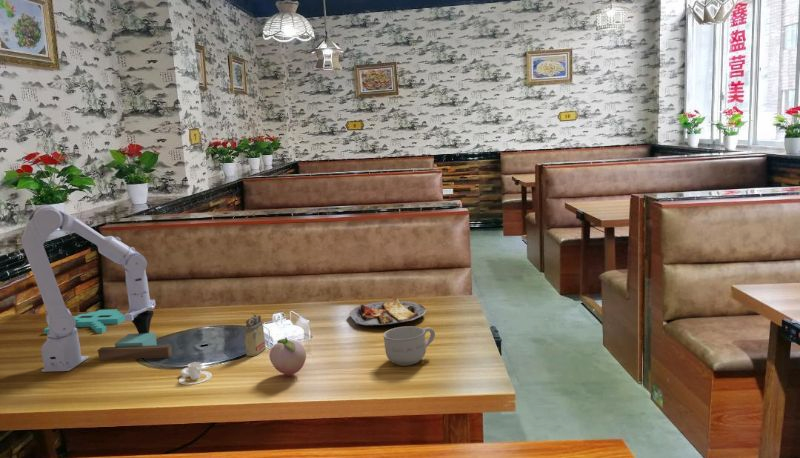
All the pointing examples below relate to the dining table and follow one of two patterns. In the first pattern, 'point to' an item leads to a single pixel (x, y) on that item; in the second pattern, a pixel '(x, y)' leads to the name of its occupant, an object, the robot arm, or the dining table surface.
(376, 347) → the dining table surface
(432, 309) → the dining table surface
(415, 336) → the teacup
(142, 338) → the teal block
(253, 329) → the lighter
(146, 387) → the dining table surface
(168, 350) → the walnut board
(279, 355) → the decorative fruit
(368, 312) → the food plate
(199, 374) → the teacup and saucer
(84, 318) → the teal pixel cutout
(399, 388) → the dining table surface
